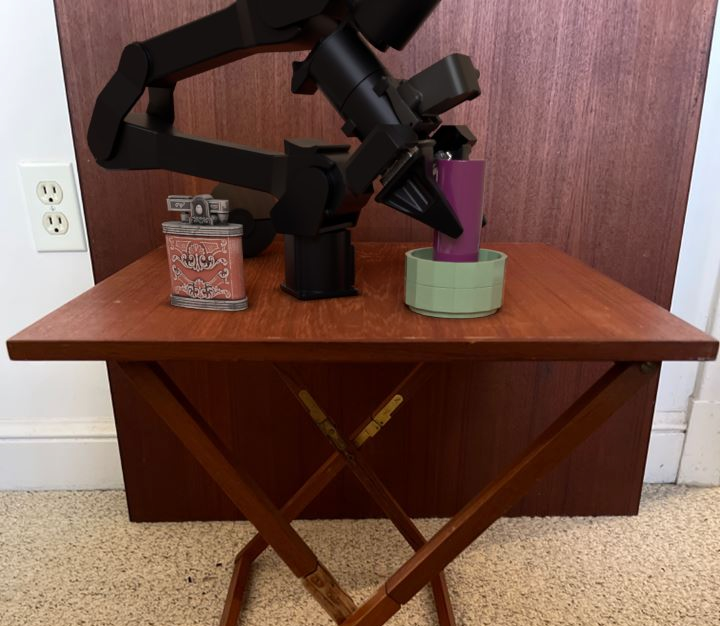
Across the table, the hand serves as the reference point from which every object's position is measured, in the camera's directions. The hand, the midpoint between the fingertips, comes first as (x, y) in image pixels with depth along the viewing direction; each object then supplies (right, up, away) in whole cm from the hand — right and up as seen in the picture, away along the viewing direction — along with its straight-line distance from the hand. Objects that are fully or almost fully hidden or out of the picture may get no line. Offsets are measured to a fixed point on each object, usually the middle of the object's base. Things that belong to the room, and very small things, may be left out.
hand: (472, 231), depth 64 cm
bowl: (-1, -6, +4) cm, 7 cm away
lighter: (-25, -6, +4) cm, 26 cm away
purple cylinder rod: (-1, -6, +4) cm, 7 cm away
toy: (-26, +7, +30) cm, 40 cm away
